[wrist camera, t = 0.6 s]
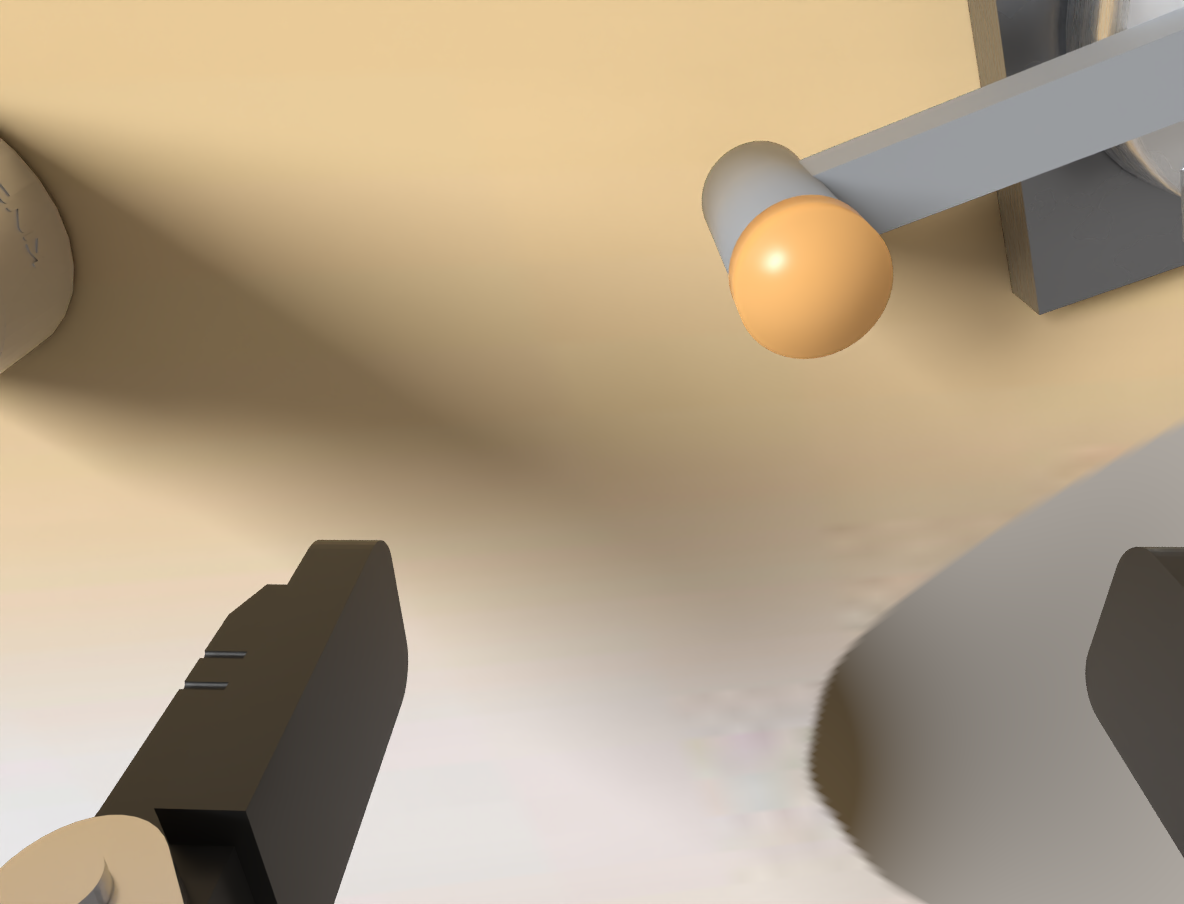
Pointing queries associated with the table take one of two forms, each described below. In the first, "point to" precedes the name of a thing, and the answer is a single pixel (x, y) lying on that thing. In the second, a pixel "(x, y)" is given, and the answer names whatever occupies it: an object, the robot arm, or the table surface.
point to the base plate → (1070, 185)
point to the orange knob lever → (939, 172)
